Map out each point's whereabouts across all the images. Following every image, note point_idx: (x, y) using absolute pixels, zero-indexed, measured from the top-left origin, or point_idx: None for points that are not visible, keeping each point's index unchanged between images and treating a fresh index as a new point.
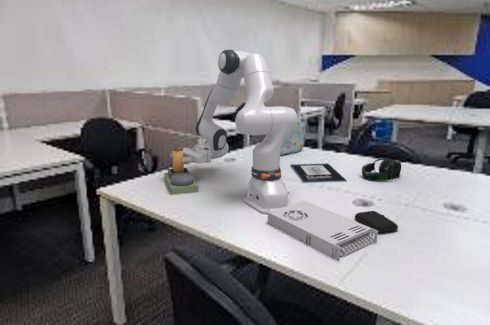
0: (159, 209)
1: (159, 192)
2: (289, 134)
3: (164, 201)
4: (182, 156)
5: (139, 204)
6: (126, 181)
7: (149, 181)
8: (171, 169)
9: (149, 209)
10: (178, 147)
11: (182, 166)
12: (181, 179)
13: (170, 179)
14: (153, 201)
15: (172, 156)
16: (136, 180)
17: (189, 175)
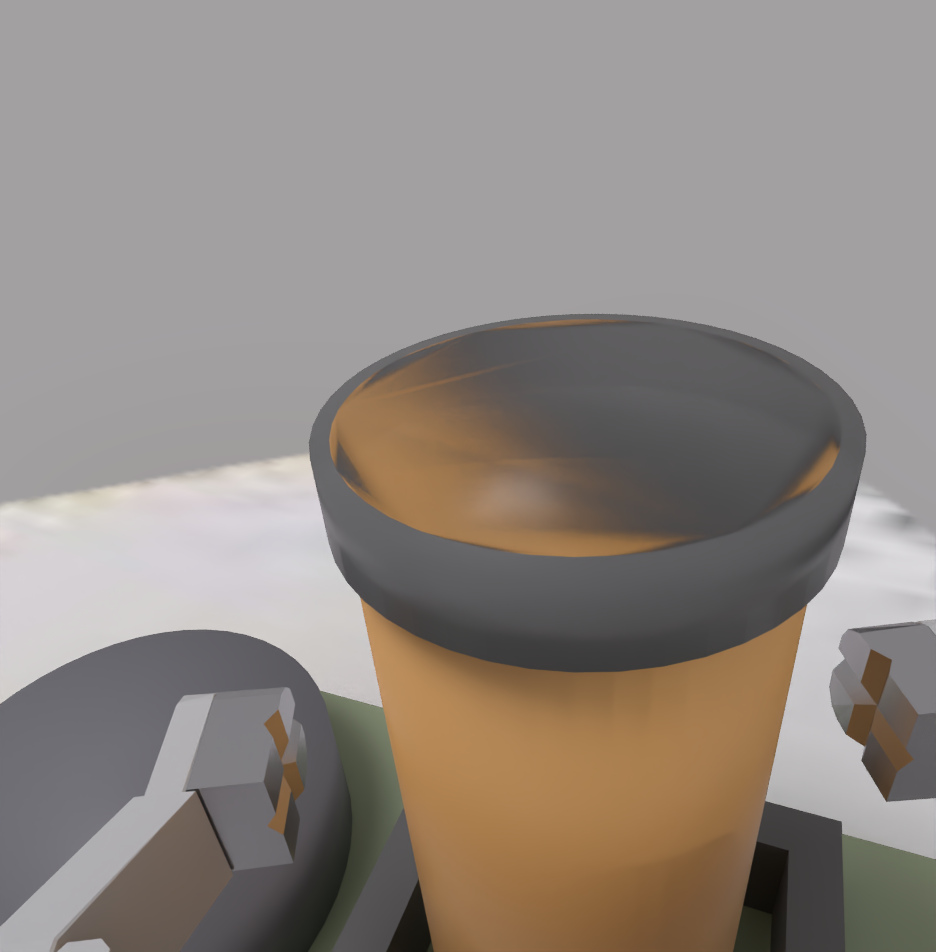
0: (26, 530)
1: (341, 641)
2: None
3: (102, 598)
4: (402, 775)
5: (237, 477)
6: (901, 526)
7: (816, 687)
8: (788, 879)
9: (99, 494)
10: (520, 420)
11: (434, 948)
12: (25, 703)
13: None
14: (192, 544)
15: (853, 685)
16: (915, 595)
17: None
